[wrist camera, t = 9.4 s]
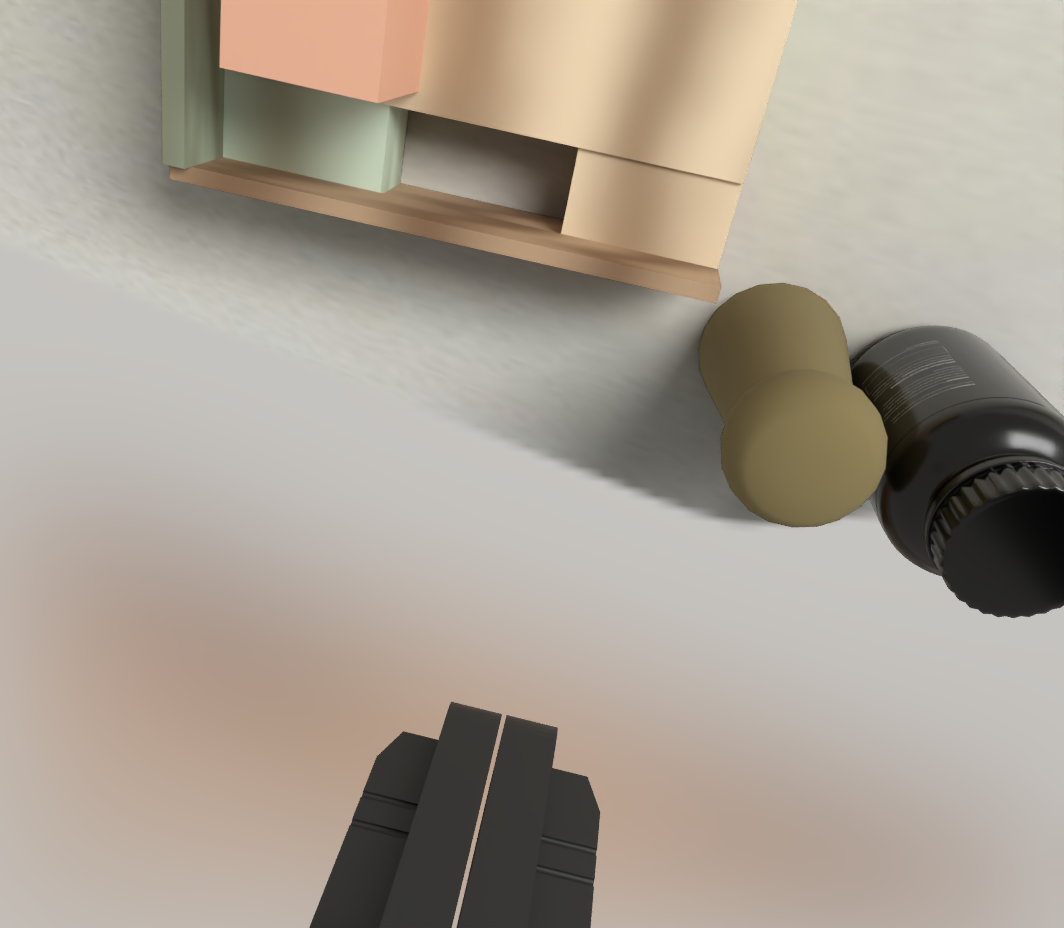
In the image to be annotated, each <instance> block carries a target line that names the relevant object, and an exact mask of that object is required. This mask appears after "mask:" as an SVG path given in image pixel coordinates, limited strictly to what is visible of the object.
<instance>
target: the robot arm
mask: <svg viewBox="0 0 1064 928" xmlns="http://www.w3.org/2000/svg"><path fill="white" fill-rule="evenodd" d="M501 716H502V714H499V713H495V712H490V711H487V710H483V709H478V708H474V707H470V706H466V705H462V704H458V703H454V702H451V704H450V706H449V709H448V712H447V715H446V718H445V721H444V725H443V728H442V731H441V734H440V737H439V740H436V739H432V738H428V737H424V736H420V735H416V734H412V733H407V732H402V733H401V734H400V735H399V736H398V737H397V738H396V739H395V740H394V741H393V742H392V743H391V744H390V745H389V746H388V747H387V748H385V750H384V751H382V752H381V754H379V755H378V756H377V758H376V760H375V763H374V765H373V768H372V770H371V773H370V775H369V778H368V781H367V783H366V786H365V788H364V791H363V795H362V797H361V798H360V801H359V803H358V806H357V808H356V811H355V813H354V816H353V819H352V823H351V825H350V826H349V829H348V831H347V834H346V836H345V839H344V841H343V844H342V846H341V849H340V851H339V854H338V856H337V859H336V862H335V864H334V867H333V869H332V872H331V874H330V877H329V880H328V882H327V884H326V887H325V889H324V893H323V895H322V897H321V900H320V902H319V905H318V907H317V910H316V912H315V915H314V918H313V920H312V923H311V925H310V928H452V923H453V919H454V915H455V911H456V906H457V902H458V898H459V894H460V890H461V885H462V881H463V877H464V873H465V869H466V864H467V860H468V856H469V852H470V848H471V843H472V839H473V835H474V831H475V826H476V822H477V818H478V814H479V810H480V805H481V801H482V797H483V793H484V788H485V784H486V780H487V775H488V771H489V767H490V763H491V758H492V754H493V750H494V746H495V741H496V737H497V733H498V729H499V725H500V720H501ZM557 730H558V729H557V727H553V726H548V725H544V724H540V723H536V722H532V721H528V720H524V719H520V718H516V717H512V716H508V715H507V716H506V720H505V724H504V728H503V733H502V737H501V741H500V745H499V749H498V753H497V757H496V762H495V766H494V770H493V774H492V779H491V783H490V787H489V791H488V795H487V799H486V804H485V808H484V812H483V816H482V821H481V825H480V829H479V833H478V838H477V842H476V846H475V851H474V855H473V859H472V864H471V868H470V872H469V877H468V881H467V886H466V890H465V894H464V898H463V903H462V907H461V911H460V915H459V920H458V925H457V928H590V926H591V913H592V901H593V890H594V887H593V883H594V878H595V867H596V866H595V865H596V850H597V842H598V831H599V819H600V811H599V808H598V805H597V802H596V799H595V797H594V794H593V791H592V788H591V785H590V783H589V780H588V777H586V776H582V775H578V774H574V773H570V772H566V771H562V770H558V769H554V768H552V764H553V758H554V751H555V745H556V739H557Z"/></svg>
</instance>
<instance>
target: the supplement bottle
mask: <svg viewBox="0 0 1064 928" xmlns="http://www.w3.org/2000/svg"><path fill="white" fill-rule="evenodd" d="M851 376H852V383H853V385H854V386H856V387H857V388H859V389H861V390H862V391H863V392H864V394H865V395H866V396H867V397H868V399H869V400H870V401H871V402H872V404H873V405H874V406H875V407H876V409H877V410H878V412H879V414H880V415H881V418H882V421H883V425H884V428H885V431H886V434H887V437H888V440H887V456H886V468H885V471H884V473H883V475H882V477H881V480H880V482H879V484H878V486H877V489H876V490H875V491H874V492H873V493H872V494H871V495H870V497H869V499H870V501H871V504H872V506H873V508H874V510H875V512H876V515H877V517H878V519H879V521H880V523H881V525H882V528H883V529H884V531H885V533H886V535H887V536H888V538H889V540H890V541H891V543H892V544H893V545H894V547H895V548H896V549H897V550H898V551H899V552H900V553H901V554H902V555H903V556H904V557H905V558H907V559H908V560H909V561H911V562H912V563H914V564H915V565H917V566H919V567H920V568H922V569H924V570H926V571H928V572H931V573H934V574H936V575H939V576H942V577H943V579H944V581H945V583H946V585H947V587H948V588H949V589H950V590H951V591H952V592H954V593H955V595H956V597H957V598H958V599H959V600H961V601H963V602H966V604H967V605H968V606H969V607H970V608H974V609H978V610H979V611H981V612H982V613H983V614H993V615H994V616H997V617H1002V616H1008V617H1011V618H1016V617H1019V616H1025V617H1030V616H1033V615H1035V614H1042V613H1047V612H1049V611H1050V610H1052V609H1057V608H1061V607H1062V606H1063V605H1064V416H1063V415H1062V414H1061V413H1060V412H1059V411H1058V410H1057V409H1055V408H1054V407H1053V406H1052V405H1051V404H1050V403H1049V402H1048V401H1047V400H1046V399H1045V398H1044V397H1043V396H1042V395H1041V394H1040V393H1039V392H1038V391H1037V390H1036V389H1035V388H1034V387H1033V386H1032V385H1031V384H1030V383H1029V382H1028V381H1027V380H1026V379H1025V378H1024V377H1023V376H1022V375H1021V374H1020V373H1019V372H1018V371H1017V370H1016V369H1015V368H1014V367H1013V366H1012V365H1011V364H1010V363H1008V362H1007V361H1006V360H1005V359H1004V358H1003V357H1002V356H1001V355H1000V354H999V353H998V352H997V351H996V350H995V349H993V348H992V347H991V346H990V345H989V344H988V343H986V342H985V341H983V340H982V339H980V338H979V337H977V336H975V335H973V334H972V333H969V332H967V331H964V330H961V329H957V328H952V327H946V326H922V327H916V328H911V329H907V330H903V331H901V332H898V333H895V334H893V335H891V336H889V337H887V338H885V339H883V340H881V341H880V342H878V343H877V344H875V345H874V346H872V347H871V348H870V349H869V350H867V351H866V352H865V353H864V354H863V355H862V356H861V357H860V358H859V359H858V360H857V361H856V362H855V364H854V365H853V366H852V368H851Z"/></svg>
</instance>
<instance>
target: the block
mask: <svg viewBox="0 0 1064 928" xmlns="http://www.w3.org/2000/svg"><path fill="white" fill-rule="evenodd" d="M429 4H430V0H221V23H220V68H224V69H229V70H233V71H238V72H242V73H246V74H251V75H255V76H260V77H264V78H268V79H273V80H277V81H282V82H286V83H290V84H295V85H299V86H304V87H308V88H312V89H317V90H321V91H326V92H330V93H335V94H339V95H343V96H348V97H352V98H357V99H361V100H365V101H370V102H374V103H380V102H384V101H387V100H391V99H394V98H398V97H401V96H405V95H408V94H412V93H415V92H419V86H420V77H421V69H422V61H423V53H424V45H425V37H426V28H427V20H428V12H429Z"/></svg>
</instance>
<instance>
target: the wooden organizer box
mask: <svg viewBox="0 0 1064 928" xmlns="http://www.w3.org/2000/svg"><path fill="white" fill-rule="evenodd" d="M797 3H798V0H430V4H429V12H428V20H427V28H426V37H425V45H424V53H423V61H422V69H421V77H420V86H419V92H415V93H412V94H408V95H405V96H401V97H398V98H394V99H391V100H387V101H384V102H380V103H374V102H370V101H365V100H361V99H357V98H352V97H348V96H343V95H339V94H335V93H330V92H326V91H321V90H317V89H312V88H308V87H304V86H299V85H295V84H290V83H286V82H282V81H277V80H273V79H268V78H264V77H260V76H255V75H251V74H246V73H242V72H238V71H233V70H229V69H224V68H220V23H221V0H161V86H162V164H165V165H170V179H172V180H176V181H181V182H185V183H189V184H194V185H198V186H203V187H207V188H211V189H216V190H220V191H225V192H229V193H233V194H238V195H242V196H246V197H251V198H255V199H260V200H264V201H268V202H273V203H277V204H282V205H286V206H290V207H295V208H299V209H304V210H308V211H312V212H317V213H321V214H326V215H330V216H334V217H339V218H343V219H347V220H352V221H356V222H361V223H365V224H369V225H374V226H378V227H383V228H387V229H391V230H396V231H400V232H405V233H409V234H413V235H418V236H422V237H426V238H431V239H435V240H440V241H444V242H448V243H453V244H457V245H462V246H466V247H470V248H475V249H479V250H484V251H488V252H492V253H497V254H501V255H505V256H510V257H514V258H519V259H523V260H527V261H532V262H536V263H541V264H545V265H549V266H554V267H558V268H563V269H567V270H571V271H576V272H580V273H584V274H589V275H593V276H598V277H602V278H606V279H611V280H615V281H620V282H624V283H628V284H633V285H637V286H642V287H646V288H650V289H655V290H659V291H664V292H668V293H672V294H677V295H681V296H685V297H690V298H694V299H699V300H703V301H707V302H712V303H716V304H717V300H718V297H719V294H720V290H721V283H720V278H719V273H718V266H719V263H720V260H721V256H722V253H723V249H724V246H725V243H726V239H727V236H728V233H729V229H730V226H731V223H732V219H733V216H734V212H735V209H736V206H737V202H738V199H739V196H740V192H741V189H742V185H743V184H744V181H745V178H746V174H747V171H748V168H749V164H750V161H751V158H752V154H753V151H754V148H755V144H756V141H757V137H758V134H759V131H760V127H761V124H762V121H763V117H764V114H765V110H766V107H767V104H768V100H769V97H770V94H771V90H772V87H773V84H774V80H775V77H776V73H777V70H778V67H779V63H780V60H781V57H782V53H783V50H784V47H785V43H786V40H787V36H788V33H789V30H790V26H791V23H792V20H793V16H794V13H795V10H796V6H797ZM409 110H412V111H417V112H421V113H426V114H430V115H435V116H439V117H444V118H448V119H453V120H457V121H462V122H466V123H471V124H475V125H480V126H484V127H489V128H493V129H498V130H502V131H507V132H511V133H516V134H520V135H525V136H529V137H534V138H538V139H543V140H547V141H551V142H556V143H560V144H565V145H569V146H574V147H578V153H577V158H576V163H575V168H574V173H573V178H572V182H571V187H570V192H569V197H568V202H567V207H566V212H565V216H564V220H561V219H556V218H552V217H547V216H543V215H539V214H534V213H530V212H525V211H521V210H516V209H512V208H508V207H503V206H499V205H494V204H490V203H485V202H481V201H477V200H472V199H468V198H463V197H459V196H454V195H450V194H446V193H441V192H437V191H432V190H428V189H423V188H419V187H415V186H410V185H406V184H401V183H400V181H401V172H402V164H403V155H404V146H405V137H406V129H407V120H408V111H409Z"/></svg>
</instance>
